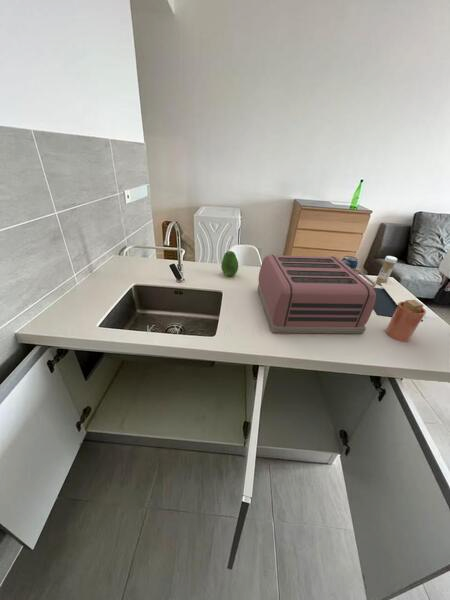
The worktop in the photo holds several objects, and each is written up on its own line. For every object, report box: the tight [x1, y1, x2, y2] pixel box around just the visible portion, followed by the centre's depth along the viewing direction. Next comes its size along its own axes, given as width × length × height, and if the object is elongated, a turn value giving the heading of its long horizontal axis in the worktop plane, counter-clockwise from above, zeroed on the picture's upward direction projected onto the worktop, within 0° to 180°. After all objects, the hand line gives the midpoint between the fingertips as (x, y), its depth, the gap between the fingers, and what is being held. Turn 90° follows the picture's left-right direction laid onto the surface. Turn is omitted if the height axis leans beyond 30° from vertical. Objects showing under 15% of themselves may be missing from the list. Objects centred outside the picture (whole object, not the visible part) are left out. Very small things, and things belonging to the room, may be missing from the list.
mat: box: [373, 287, 424, 322], centre depth 102 cm, size 16×24×1 cm, turn 169°
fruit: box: [220, 250, 239, 277], centre depth 113 cm, size 8×8×12 cm
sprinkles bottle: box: [375, 255, 398, 286], centre depth 113 cm, size 5×5×13 cm
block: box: [402, 299, 425, 313], centre depth 78 cm, size 3×3×3 cm
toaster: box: [257, 254, 377, 334], centre depth 90 cm, size 30×36×17 cm
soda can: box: [340, 255, 359, 269], centre depth 114 cm, size 7×7×12 cm
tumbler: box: [385, 301, 427, 342], centre depth 81 cm, size 7×7×11 cm
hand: (440, 302), depth 65 cm, fingers closed
